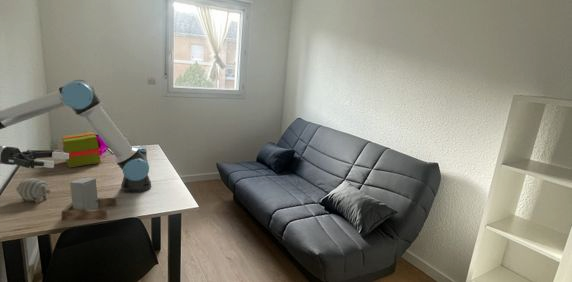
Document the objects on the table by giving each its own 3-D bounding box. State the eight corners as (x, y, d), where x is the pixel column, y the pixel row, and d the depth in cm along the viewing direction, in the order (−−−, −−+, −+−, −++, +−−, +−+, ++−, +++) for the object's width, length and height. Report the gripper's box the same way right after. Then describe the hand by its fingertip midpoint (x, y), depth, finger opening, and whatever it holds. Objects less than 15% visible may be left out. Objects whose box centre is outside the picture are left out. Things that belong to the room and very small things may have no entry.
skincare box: (85, 217, 142) (82, 184, 139) (71, 215, 143) (68, 182, 140) (100, 209, 150) (97, 177, 147) (86, 207, 152) (84, 175, 148)
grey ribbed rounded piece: (27, 195, 161) (25, 174, 158) (60, 198, 160) (58, 176, 157) (8, 203, 150) (5, 181, 148) (43, 206, 150) (40, 184, 147)
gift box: (68, 173, 202) (112, 165, 217) (63, 143, 194) (109, 137, 209) (64, 159, 217) (106, 152, 231) (59, 131, 208) (102, 125, 223)
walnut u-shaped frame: (62, 220, 139) (61, 211, 138) (77, 206, 153) (76, 198, 152) (106, 219, 142) (105, 210, 141) (116, 205, 156) (116, 197, 155)
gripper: (23, 156, 149) (73, 160, 153) (-16, 172, 125) (46, 177, 129) (23, 140, 147) (74, 145, 152) (-17, 154, 123) (46, 159, 128)
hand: (61, 160), depth 140 cm, fingers open, 13 cm apart
